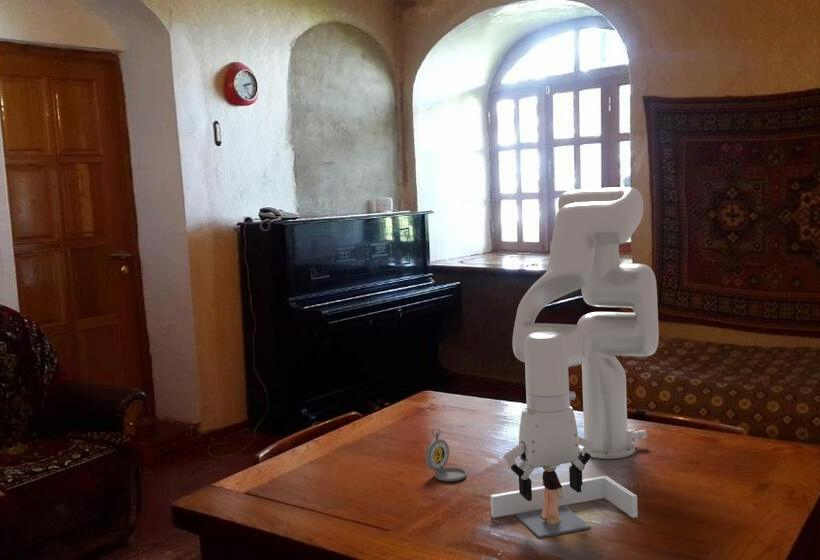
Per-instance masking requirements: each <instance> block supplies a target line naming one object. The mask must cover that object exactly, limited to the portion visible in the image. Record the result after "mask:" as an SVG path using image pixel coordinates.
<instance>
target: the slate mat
mask: <svg viewBox="0 0 820 560" xmlns="http://www.w3.org/2000/svg"><path fill="white" fill-rule="evenodd" d="M558 512H559V518H560V519H561V522H560V523H556V524H548V523H547V522H546V520H547V519H544V518H541V513H542V509H540V510H535V511H529V512H523V513H518V514H515V517H516V518H517V519H518V520H519V521H520V522H521V523H522V524H523V525H525V527H526V528H528V529H529V531H531V533H533V534H534V535H535V536H536V537H537V538H538V539H541V538H546V537H552V536H558V535H563V534H569V533H573V532H580V531H583V530H590V529H591V528H592V527H591V525H590V524H589V523H588V522H587V521H585V520H583V519H582V518H581V517H580V516H579V515H577V514H576V513H575V512H574V511H573V510H571V509H570V508H568V507H567V505H563V506H558Z"/></svg>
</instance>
